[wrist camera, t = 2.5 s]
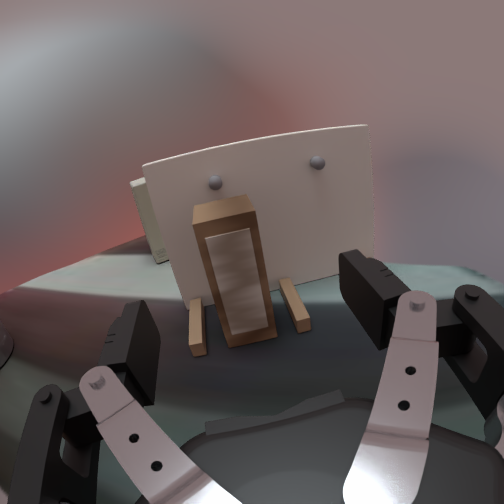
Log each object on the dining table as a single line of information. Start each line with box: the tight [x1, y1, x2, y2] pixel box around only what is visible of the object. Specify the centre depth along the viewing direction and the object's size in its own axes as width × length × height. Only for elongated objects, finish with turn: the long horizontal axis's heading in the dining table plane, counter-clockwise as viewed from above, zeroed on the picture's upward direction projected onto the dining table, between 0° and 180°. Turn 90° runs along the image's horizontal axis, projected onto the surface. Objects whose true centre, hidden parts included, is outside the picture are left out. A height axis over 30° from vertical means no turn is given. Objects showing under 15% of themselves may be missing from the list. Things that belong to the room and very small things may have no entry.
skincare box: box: [130, 177, 169, 264], centre depth 44 cm, size 6×4×12 cm
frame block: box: [192, 194, 278, 348], centre depth 26 cm, size 4×5×12 cm
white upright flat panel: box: [142, 124, 374, 357], centre depth 27 cm, size 22×9×16 cm, turn 99°
